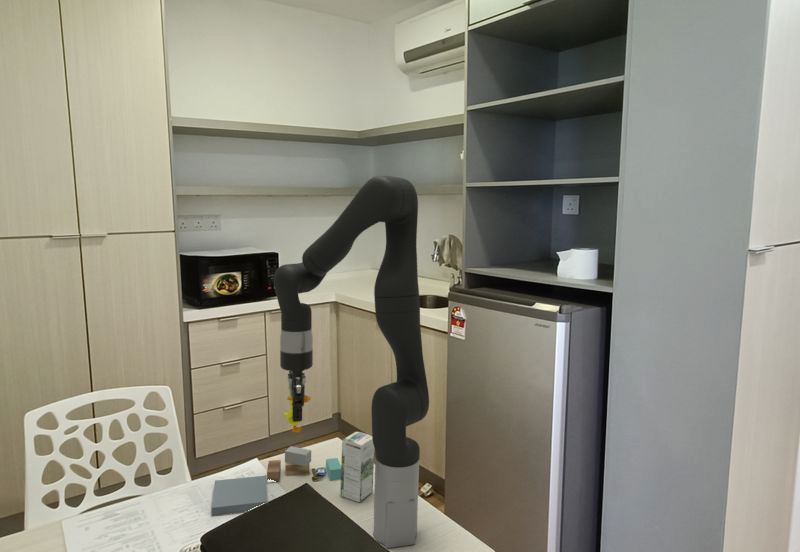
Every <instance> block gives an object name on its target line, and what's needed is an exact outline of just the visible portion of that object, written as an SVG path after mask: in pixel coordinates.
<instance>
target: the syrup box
mask: <svg viewBox="0 0 800 552" xmlns="http://www.w3.org/2000/svg"><path fill="white" fill-rule="evenodd" d="M340 465H341V479H340V493H339V495H340V496H341V497H342V498H344V499H345V498H346V499H348V500H352V501H354V502H357V503H361V502H362V501H364V500H365V499H366V498H367V497H368V496H370V495H371V494H372V493H374V492H373V489H374V470H375V467H374V466H375V448H374V444H373V440H372V435H371V434H367V433H364V432H362V431H354V432H353V433H351V434H350V435H348V436H346V437H345V438H343V439H342V441H341V461H340Z"/></svg>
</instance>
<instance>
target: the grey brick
mask: <svg viewBox="0 0 800 552" xmlns="http://www.w3.org/2000/svg"><path fill="white" fill-rule="evenodd" d="M284 462H287V463H292V464H297V465H301V466H306V465H308V464H309V465H310V463H311V462H312V449H307V448H301V447H296V446H292V445H291V446H289V447H287V449H285V450H284Z"/></svg>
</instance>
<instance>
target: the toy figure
mask: <svg viewBox="0 0 800 552" xmlns="http://www.w3.org/2000/svg"><path fill="white" fill-rule="evenodd" d="M292 392H293V390H292ZM311 397H312V396H308V395H304V403H308V402H309V401H311ZM286 399H287V400H288V401H289V406H290V409H289V411H288V412H283V414H284V416H285V417H286V418H287V419H286V420H287V422H288V423H289V425H290V426H292V429H291V432H292V433H300V432H301V431H302V427H301V426H297V425H298V424H300V421H299V422H294V421H293V409H292V397H291V396H290V387H289V386H288V397H287V398H286ZM295 401H301V399H296V400H295Z"/></svg>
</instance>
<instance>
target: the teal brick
mask: <svg viewBox="0 0 800 552" xmlns="http://www.w3.org/2000/svg"><path fill="white" fill-rule="evenodd" d="M325 470H327V471H326V474H327V476H328V479H329V481H338V480H341V462H340V461H339V458H338V457H333V458H325Z"/></svg>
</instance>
